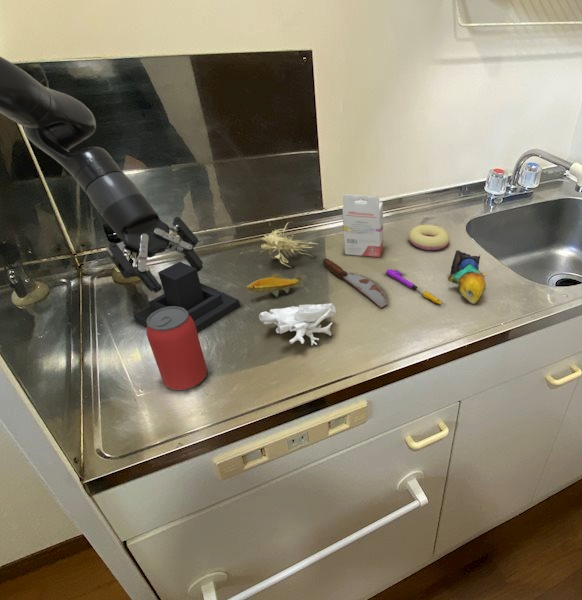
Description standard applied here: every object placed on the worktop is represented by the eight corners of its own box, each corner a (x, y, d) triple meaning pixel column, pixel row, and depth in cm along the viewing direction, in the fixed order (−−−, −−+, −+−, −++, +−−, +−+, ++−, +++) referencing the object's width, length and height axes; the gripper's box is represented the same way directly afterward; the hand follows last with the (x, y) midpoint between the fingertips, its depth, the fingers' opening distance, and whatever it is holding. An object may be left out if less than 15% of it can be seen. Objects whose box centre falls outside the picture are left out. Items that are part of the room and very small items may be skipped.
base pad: (178, 344, 81) (173, 328, 80) (135, 321, 86) (129, 306, 84) (240, 306, 91) (237, 290, 89) (198, 287, 96) (194, 272, 94)
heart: (348, 304, 83) (291, 322, 74) (348, 340, 85) (293, 361, 77) (306, 289, 90) (251, 303, 82) (307, 322, 92) (253, 339, 84)
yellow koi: (247, 301, 91) (247, 279, 89) (244, 296, 92) (244, 274, 90) (307, 293, 97) (309, 272, 95) (303, 289, 99) (305, 267, 97)
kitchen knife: (399, 298, 94) (379, 304, 91) (398, 305, 95) (378, 312, 92) (340, 253, 107) (321, 257, 104) (339, 260, 108) (320, 264, 105)
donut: (422, 239, 122) (401, 247, 115) (422, 221, 120) (400, 228, 113) (456, 245, 116) (435, 254, 109) (456, 226, 114) (436, 234, 107)
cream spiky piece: (324, 271, 108) (333, 233, 106) (272, 273, 96) (280, 230, 93) (291, 254, 114) (299, 218, 111) (238, 255, 102) (245, 214, 99)
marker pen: (384, 273, 102) (438, 306, 93) (385, 268, 102) (440, 301, 93) (393, 272, 104) (447, 304, 95) (394, 267, 104) (448, 299, 94)
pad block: (185, 317, 86) (174, 279, 81) (168, 309, 87) (157, 272, 83) (205, 305, 89) (196, 268, 84) (189, 297, 91) (179, 261, 86)
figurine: (482, 307, 94) (486, 280, 90) (444, 301, 95) (447, 274, 91) (485, 278, 103) (489, 252, 99) (450, 273, 104) (453, 248, 100)
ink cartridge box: (383, 247, 113) (384, 189, 104) (380, 258, 109) (380, 197, 100) (348, 244, 113) (346, 186, 105) (343, 254, 109) (341, 194, 101)
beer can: (154, 387, 73) (131, 326, 66) (180, 360, 78) (162, 300, 72) (192, 396, 72) (173, 334, 65) (216, 367, 77) (200, 307, 70)
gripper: (85, 208, 75) (150, 290, 77) (163, 182, 85) (219, 255, 87) (78, 229, 81) (139, 306, 82) (153, 202, 91) (205, 271, 92)
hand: (180, 279), depth 85 cm, fingers open, 8 cm apart
